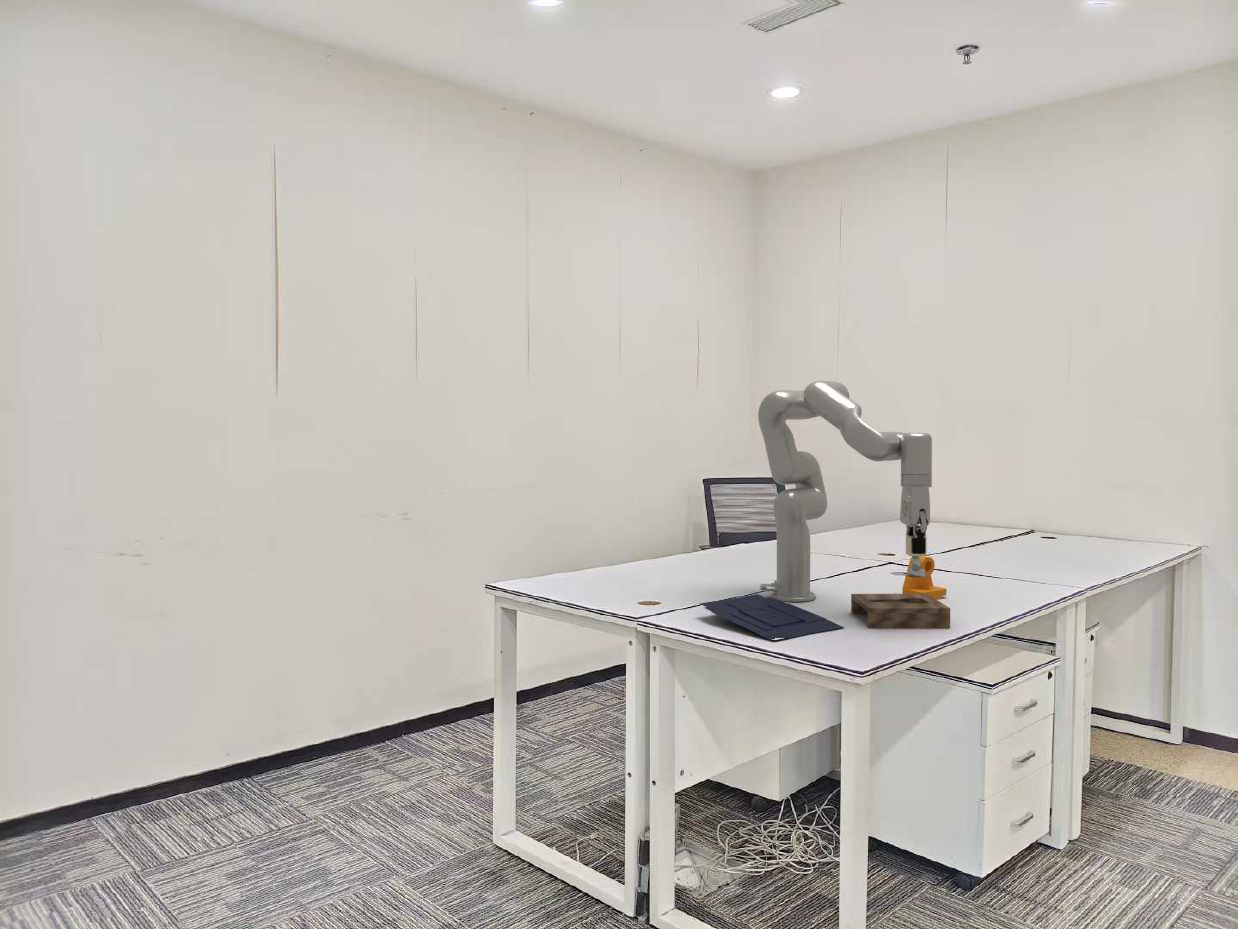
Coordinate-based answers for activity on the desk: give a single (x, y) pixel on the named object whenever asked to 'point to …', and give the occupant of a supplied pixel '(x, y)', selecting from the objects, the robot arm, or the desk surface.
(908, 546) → the peg
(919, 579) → the bracket
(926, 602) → the keyhole board
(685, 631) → the desk surface
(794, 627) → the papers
